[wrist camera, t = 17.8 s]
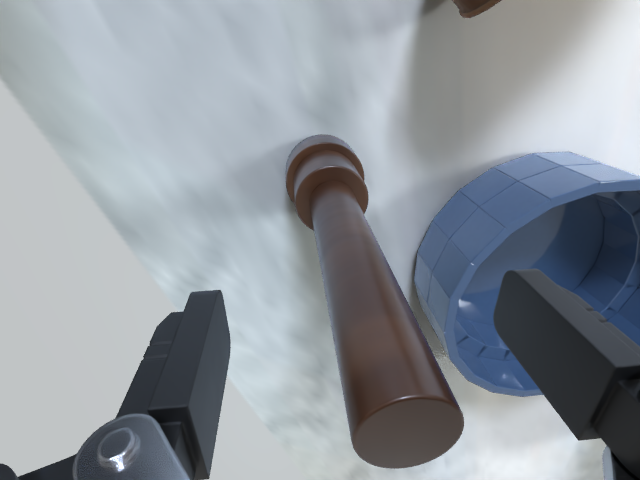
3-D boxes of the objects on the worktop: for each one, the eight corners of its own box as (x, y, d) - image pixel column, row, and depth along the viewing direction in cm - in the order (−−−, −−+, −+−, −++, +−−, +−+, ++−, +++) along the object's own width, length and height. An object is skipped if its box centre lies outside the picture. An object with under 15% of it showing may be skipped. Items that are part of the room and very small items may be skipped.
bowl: (403, 341, 29) (429, 406, 24) (425, 155, 22) (470, 188, 17) (580, 326, 30) (643, 385, 25) (655, 144, 23) (766, 172, 18)
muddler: (288, 206, 23) (299, 509, 8) (283, 135, 21) (286, 362, 6) (356, 203, 23) (495, 487, 8) (358, 132, 21) (550, 340, 6)
